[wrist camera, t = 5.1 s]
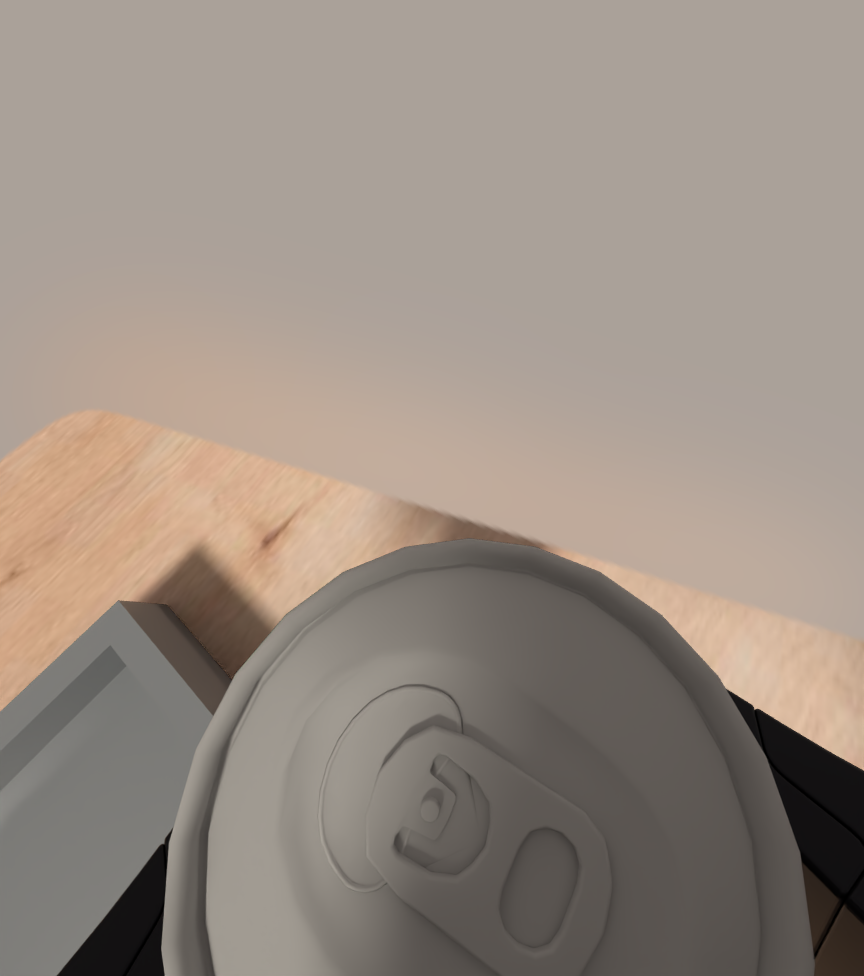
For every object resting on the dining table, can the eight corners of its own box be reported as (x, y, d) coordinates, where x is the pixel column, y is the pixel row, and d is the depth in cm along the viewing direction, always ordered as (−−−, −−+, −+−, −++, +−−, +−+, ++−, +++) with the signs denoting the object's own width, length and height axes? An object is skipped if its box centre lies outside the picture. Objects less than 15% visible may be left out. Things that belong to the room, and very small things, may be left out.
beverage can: (425, 583, 15) (377, 436, 4) (543, 653, 14) (904, 713, 3) (354, 708, 14) (-16, 1006, 3) (479, 794, 13) (709, 1786, 2)
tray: (415, 894, 15) (407, 953, 13) (50, 1406, 12) (-75, 1645, 9) (167, 604, 20) (118, 600, 17) (-161, 924, 16) (-292, 987, 13)
